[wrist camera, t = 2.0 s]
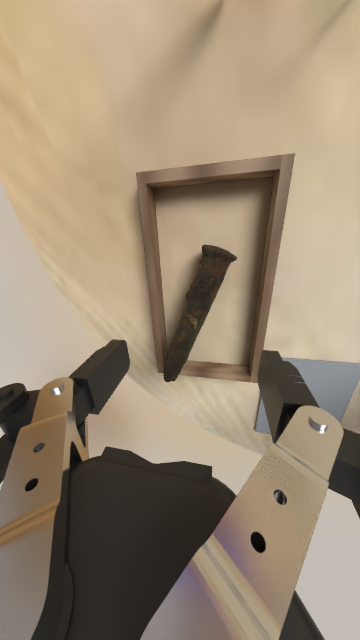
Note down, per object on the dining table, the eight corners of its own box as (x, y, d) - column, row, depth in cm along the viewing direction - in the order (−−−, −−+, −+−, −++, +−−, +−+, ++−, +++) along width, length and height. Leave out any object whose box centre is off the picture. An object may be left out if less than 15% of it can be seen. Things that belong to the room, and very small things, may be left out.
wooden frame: (286, 163, 19) (294, 153, 16) (254, 371, 29) (257, 382, 27) (144, 179, 22) (135, 172, 19) (162, 363, 32) (158, 372, 30)
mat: (363, 363, 25) (365, 365, 25) (329, 440, 32) (330, 443, 31) (268, 356, 28) (268, 358, 27) (255, 429, 34) (255, 431, 34)
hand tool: (206, 242, 23) (203, 239, 18) (236, 255, 23) (240, 255, 18) (155, 362, 30) (145, 380, 25) (178, 373, 29) (171, 393, 25)
